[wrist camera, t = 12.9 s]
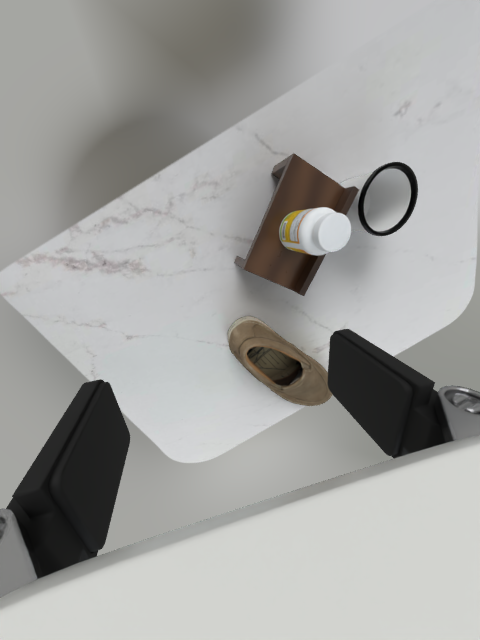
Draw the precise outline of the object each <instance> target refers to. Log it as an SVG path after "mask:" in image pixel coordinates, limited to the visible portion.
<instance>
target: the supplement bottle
mask: <svg viewBox="0 0 480 640" xmlns="http://www.w3.org/2000/svg"><path fill="white" fill-rule="evenodd" d="M350 235H351V223H350V221H349V219H348V218H347V216H345V215H344V214H342V213H336V212H335V211H334V210H332V209H330V208H327V207H320V208H313V209H306V210H299V211H294V212H291V213H290V214H288V215H287V216H286V217H285V218H284V219H283V221H282V223H281V225H280V229H279V237H280V240H281V242H282V244H283V245H284V246H285V247H286V248H287V249H289V250H292V251H297V252H302V253H306V254H310V255H324V254H326V253H328V252H336V251H338V250H340V249H342V248H343V247H344V246H345V245H346V244H347V242H348V240H349V238H350Z"/></svg>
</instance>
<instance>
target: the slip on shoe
mask: <svg viewBox="0 0 480 640" xmlns="http://www.w3.org/2000/svg"><path fill="white" fill-rule="evenodd" d="M227 335H228V343H229V347H230V350H231V352H232V354H234V356H235V357H236V358H237V359H238V360H239V362H240V363H241V364H242V365H243V366H244V367H245V368H246V369H247V370H248V371H249V372H250V373H251V374H252V375H253V376H254V377H255V378H257V379H258V380H259V381H260V382H262V383H263V384H265V385H266V386H267V387H269V388H270V389H271V391H273V392H275V393H276V394H277V395H279V396H280V397H282V398H284V399H285V400H287V401H290V402H292V403H296V404H300V405H307V406H314V405H320V404H323V403H325V402H326V401H328V400H329V399H330V398H331V396H332V393H331V392H330V390H329V388H328V385H327V382H328V372H327V371H326V370H325V369H324V368H323V367H322V366H321V365H320V364H319V363H318V362H317V361H315V360H314V359H313V358H311V357H310V356H308V355H306V354H305V353H303V352H302V351H300V350H299V349H298V348H296V347H295V346H294V345H292V344H291V343H289V342H287V341H286V340H285V339H283V338H282V337H281V336H279V335H278V334H277V333H276V332H274V331H273V330H272V329H271V328H270V327H269V326H268V325H266V324H265V323H264V322H262V321H261V320H259V319H257V318H255V317H252V316H245V317H242V318H240V319H238V320H237V321H235V322H234V323H233V324H232V325H231V327H230V328H229V330H228V334H227Z"/></svg>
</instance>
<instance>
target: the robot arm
mask: <svg viewBox="0 0 480 640" xmlns="http://www.w3.org/2000/svg"><path fill="white" fill-rule="evenodd" d="M434 384H435V382H433V381H432V380H430V379H429V378H427V377H425V376H423V375H422V374H420V373H419V372H417V371H416V370H414V369H412V368H411V367H409V366H408V365H406V364H404V363H403V362H401V361H399V360H398V359H396V358H395V357H393V356H391V355H390V354H388V353H387V352H385V351H383V350H382V349H380V348H379V347H377V346H375V345H374V344H372V343H370V342H369V341H367V340H366V339H364V338H362V337H361V336H359V335H358V334H356V333H354V332H353V331H351V330H349V329H344V330H339V331H335V332H334V333H333V335H332V336H331V338H330V351H329V366H328V382H327V385H328V388H329V390H330V392H331V393H332V394H333V395H334V396H335V397H336V398H337V400H338V401H339V402H340V403H341V404H342V405H343V406H344V407H345V409H346V410H347V411H348V412H349V413H350V414H351V415H352V416H353V418H354V419H355V420H356V421H357V422H358V423H359V424H360V425H361V427H362V428H363V429H364V430H365V431H366V432H367V433H368V434H369V436H371V438H372V439H373V440H374V441H375V442H376V443H377V444H378V446H379V447H380V448H381V449H382V450H383V451H384V452H385V453H386V454H387V455H389V456H392V457H393V458H394V459H391V460H388V461H385V462H382V463H379V464H375V465H372V466H369V467H366V468H363V469H360V470H357V471H353V472H350V473H347V474H344V475H341V476H338V477H335V478H332V479H328V480H325V481H322V482H319V483H316V484H313V485H310V486H307V487H304V488H300V489H297V490H295V491H291V492H288V493H285V494H282V495H279V496H276V497H273V498H270V499H267V500H264V501H260V502H258V503H254V504H252V505H248V506H245V507H242V508H239V509H236V510H233V511H230V512H227V513H224V514H221V515H218V516H215V517H212V518H209V519H206V520H203V521H200V522H197V523H194V524H191V525H188V526H185V527H182V528H179V529H175V530H172V531H169V532H166V533H163V534H161V535H158V536H154V537H151V538H148V539H145V540H143V541H140V542H137V543H134V544H131V545H128V546H125V547H122V548H119V549H117V550H114V551H111V552H108V553H105V554H102V555H100V556H97V553H98V550H100V549H102V548H103V546H104V544H105V541H106V537H107V533H108V529H109V525H110V521H111V517H112V513H113V509H114V505H115V500H116V496H117V492H118V488H119V484H120V480H121V476H122V472H123V468H124V464H125V460H126V455H127V452H128V447H129V443H130V434H129V431H128V428H127V425H126V423H125V420H124V418H123V416H122V413H121V410H120V408H119V405H118V403H117V400H116V398H115V396H114V393H113V391H112V388H111V386H110V384H109V383H108V382H104V381H103V380H96V381H91V382H86V383H84V384H83V385H82V386H81V388H80V390H79V391H78V393H77V394H76V396H75V398H74V399H73V401H72V402H71V404H70V405H69V407H68V409H67V410H66V412H65V413H64V415H63V417H62V418H61V420H60V421H59V423H58V425H57V426H56V428H55V429H54V431H53V432H52V434H51V436H50V437H49V439H48V440H47V442H46V444H45V445H44V447H43V448H42V450H41V452H40V453H39V455H38V456H37V458H36V460H35V461H34V462H33V464H32V466H31V468H30V469H29V470H28V472H27V474H26V475H25V477H24V478H23V480H22V482H21V483H20V485H19V486H18V488H17V489H16V491H15V493H14V495H13V496H12V497H13V499H12V500H11V502H10V503H9V505H8V506H7V508H6V509H0V640H480V392H478V391H475V390H472V389H469V388H465V387H460V386H445V387H442V388H440V390H439V391H438V392H437V391H435V390H434V389H433V387H434Z"/></svg>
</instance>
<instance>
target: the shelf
mask: <svg viewBox="0 0 480 640" xmlns="http://www.w3.org/2000/svg"><path fill="white" fill-rule="evenodd" d="M271 174H272V175H274V176H276V177H277V178H279V179H280V180H279V183H278V185H277V187H276V190H275V192H274V194H273V197H272V199H271V201H270V204H269V206H268V208H267V211H266V213H265V215H264V218H263V220H262V222H261V225H260V227H259V229H258V232H257V234H256V236H255V239H254V241H253V243H252V246H251V248H250V250H249V253H248V255H247V257H246V260H245V259H242V258H240V257H238V256H237V257H236V259H235V262H234V263H236V264H237V265H238V266H240V267H241V268H243V269H244V270H246V271H249V272H251V273H253V274H256V275H258V276H260V277H263V278H265V279H267V280H270V281H272V282H274V283H277V284H279V285H281V286H284V287H286V288H288V289H291V290H293V291H295V292H297V293H298V294H300V295H303V296H304V295H305V293H306V291H307V289H308V287H309V286H310V284H311V282H312V280H313V278H314V276H315V274H316V272H317V270H318V268H319V266H320V264H321V263H322V261H323V259H324V257H325V255H326V254H324V255H310V254H306V253H302V252H297V251H292V250H289V249H287V248H286V247H285V246H284V245H283V244H282V242H281V240H280V237H279V229H280V225H281V223H282V221H283V219H284V218H285V217H286V216H287V215H288V214H290V213H291V212H294V211H299V210H306V209H313V208H320V207H327V208H330V209H332V210H334V211H335V212H336V213H342V214H344V215H345V216H346V215H347V213H348V211H349V209H350V207H351V205H352V203H353V201H354V199H355V197H356V195H357V193H358V192H359V189H358V188H356V187H355V186H353V187H348V188H344V187H342V186H341V185H340V184H338V183H337V182H335V181H334V180H332V179H331V178H329V177H328V176H326V175H325V174H323V173H322V172H320V171H319V170H318V169H316V168H315V167H313V166H312V165H310V164H309V163H307V162H306V161H304V160H303V159H301V158H300V157H299V156H297V155H296V154H292V155H291V156H289V157H288V158H286V159H285V160H283V161H282V162H280V163H278V164H277V165H275V166H274V168H273V171H272V173H271Z"/></svg>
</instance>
